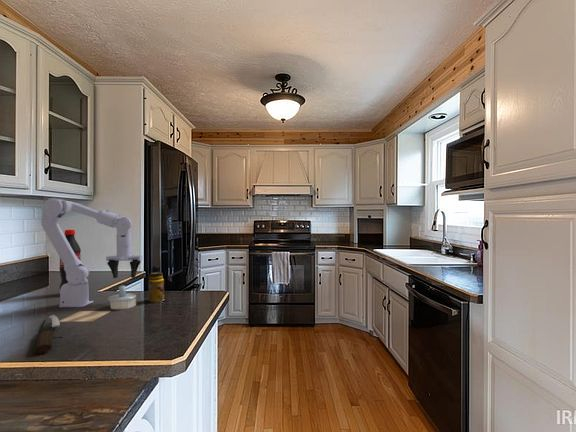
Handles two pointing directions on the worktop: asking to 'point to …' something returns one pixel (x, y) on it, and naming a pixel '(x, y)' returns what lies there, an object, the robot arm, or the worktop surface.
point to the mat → (84, 316)
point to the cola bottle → (76, 250)
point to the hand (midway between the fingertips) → (124, 277)
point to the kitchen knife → (46, 334)
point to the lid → (122, 295)
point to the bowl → (123, 304)
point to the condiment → (156, 287)
